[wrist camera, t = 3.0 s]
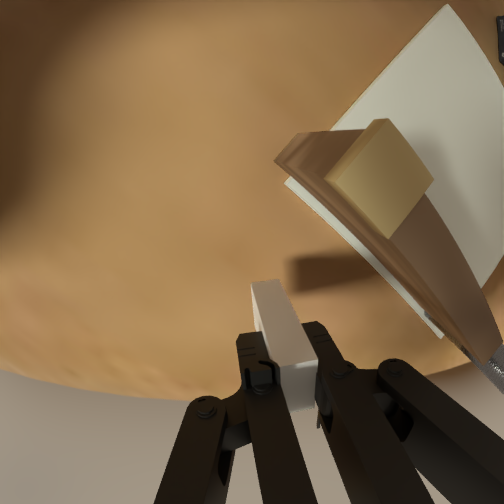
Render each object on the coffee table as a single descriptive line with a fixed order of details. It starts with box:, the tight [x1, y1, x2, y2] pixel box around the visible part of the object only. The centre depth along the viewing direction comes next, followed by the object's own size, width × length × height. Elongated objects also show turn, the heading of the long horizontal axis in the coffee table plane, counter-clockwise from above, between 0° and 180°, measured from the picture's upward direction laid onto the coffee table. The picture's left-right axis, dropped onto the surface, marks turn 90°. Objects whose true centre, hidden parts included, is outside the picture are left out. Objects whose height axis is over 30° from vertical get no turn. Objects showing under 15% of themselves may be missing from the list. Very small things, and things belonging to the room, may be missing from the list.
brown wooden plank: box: [274, 118, 503, 366], centre depth 14 cm, size 2×16×9 cm, turn 50°
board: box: [284, 4, 504, 339], centre depth 18 cm, size 21×21×1 cm
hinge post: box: [424, 310, 504, 394], centre depth 17 cm, size 2×2×11 cm
